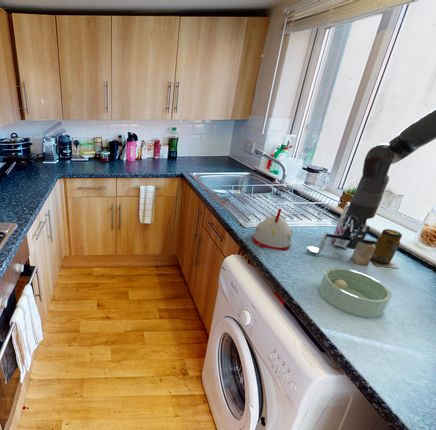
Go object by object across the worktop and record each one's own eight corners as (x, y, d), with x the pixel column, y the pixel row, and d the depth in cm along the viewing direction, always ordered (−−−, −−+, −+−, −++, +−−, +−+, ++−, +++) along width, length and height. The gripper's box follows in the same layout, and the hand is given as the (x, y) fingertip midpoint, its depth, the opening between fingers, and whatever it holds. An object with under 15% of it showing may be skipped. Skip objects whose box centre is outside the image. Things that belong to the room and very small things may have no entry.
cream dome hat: (249, 244, 117) (257, 210, 111) (255, 231, 128) (263, 200, 121) (287, 254, 110) (299, 220, 104) (290, 240, 121) (301, 207, 114)
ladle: (307, 255, 110) (315, 233, 106) (304, 249, 114) (312, 228, 110) (367, 266, 104) (378, 243, 100) (362, 260, 108) (373, 238, 104)
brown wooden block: (360, 258, 109) (369, 239, 105) (366, 267, 104) (376, 247, 100) (351, 257, 110) (359, 238, 106) (356, 265, 105) (365, 245, 101)
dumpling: (342, 287, 91) (347, 278, 90) (346, 294, 88) (351, 285, 87) (329, 285, 93) (333, 276, 91) (333, 292, 89) (337, 282, 88)
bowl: (369, 291, 91) (377, 274, 89) (392, 326, 78) (402, 307, 75) (312, 279, 96) (319, 263, 94) (325, 310, 83) (333, 293, 80)
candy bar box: (347, 249, 115) (363, 212, 108) (332, 245, 117) (346, 209, 110) (346, 238, 123) (361, 203, 116) (332, 235, 126) (346, 200, 119)
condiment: (383, 256, 111) (397, 228, 106) (399, 268, 103) (414, 239, 98) (362, 254, 112) (375, 226, 107) (376, 266, 104) (390, 237, 99)
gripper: (388, 211, 91) (367, 255, 98) (369, 196, 104) (352, 237, 111) (359, 207, 94) (341, 251, 101) (345, 193, 106) (330, 233, 113)
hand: (347, 243), depth 106 cm, fingers open, 6 cm apart
